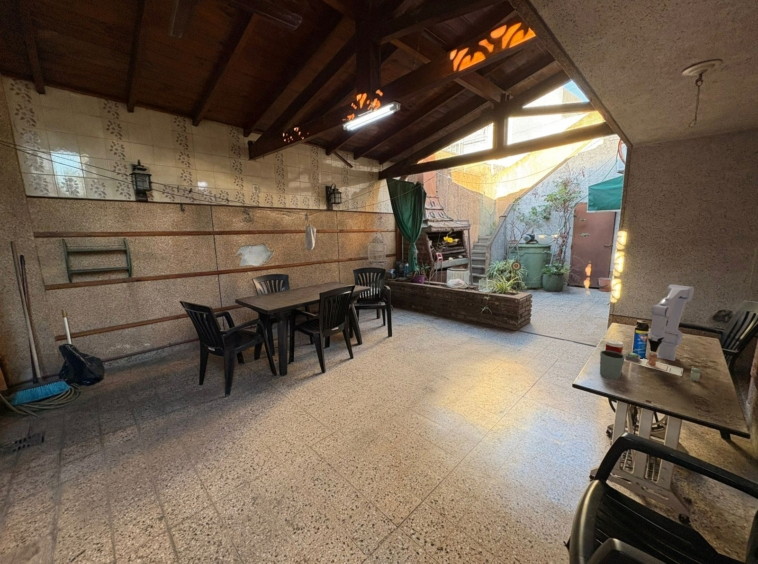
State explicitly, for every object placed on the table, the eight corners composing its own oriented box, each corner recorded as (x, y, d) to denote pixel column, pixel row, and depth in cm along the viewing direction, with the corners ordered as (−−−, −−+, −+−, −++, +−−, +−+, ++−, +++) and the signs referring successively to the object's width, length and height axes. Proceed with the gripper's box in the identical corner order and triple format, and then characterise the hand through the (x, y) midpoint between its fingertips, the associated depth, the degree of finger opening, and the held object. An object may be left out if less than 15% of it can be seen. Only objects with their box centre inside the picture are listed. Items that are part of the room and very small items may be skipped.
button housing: (627, 356, 174) (627, 352, 174) (640, 359, 170) (640, 355, 169) (625, 359, 170) (625, 355, 170) (638, 362, 166) (639, 358, 165)
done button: (629, 355, 172) (630, 352, 172) (637, 357, 170) (638, 354, 169) (628, 357, 170) (628, 353, 170) (636, 359, 167) (636, 355, 167)
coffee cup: (624, 371, 158) (628, 345, 155) (607, 369, 160) (610, 344, 157) (615, 364, 166) (618, 339, 163) (598, 362, 168) (602, 338, 165)
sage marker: (689, 377, 150) (691, 366, 149) (699, 380, 148) (701, 369, 147) (689, 379, 148) (691, 369, 147) (698, 382, 146) (701, 371, 145)
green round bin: (611, 381, 148) (615, 359, 146) (592, 371, 157) (595, 351, 155) (626, 378, 150) (629, 356, 148) (606, 369, 160) (609, 349, 158)
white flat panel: (626, 355, 177) (627, 354, 176) (683, 369, 159) (683, 368, 159) (622, 361, 169) (622, 360, 169) (681, 376, 151) (681, 375, 151)
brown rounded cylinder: (656, 364, 163) (657, 354, 162) (655, 366, 161) (657, 356, 160) (648, 362, 166) (650, 352, 165) (647, 364, 164) (649, 354, 163)
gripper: (650, 321, 167) (646, 343, 169) (646, 327, 158) (642, 351, 160) (667, 324, 162) (663, 347, 164) (664, 331, 152) (660, 355, 155)
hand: (654, 349), depth 162 cm, fingers open, 7 cm apart
